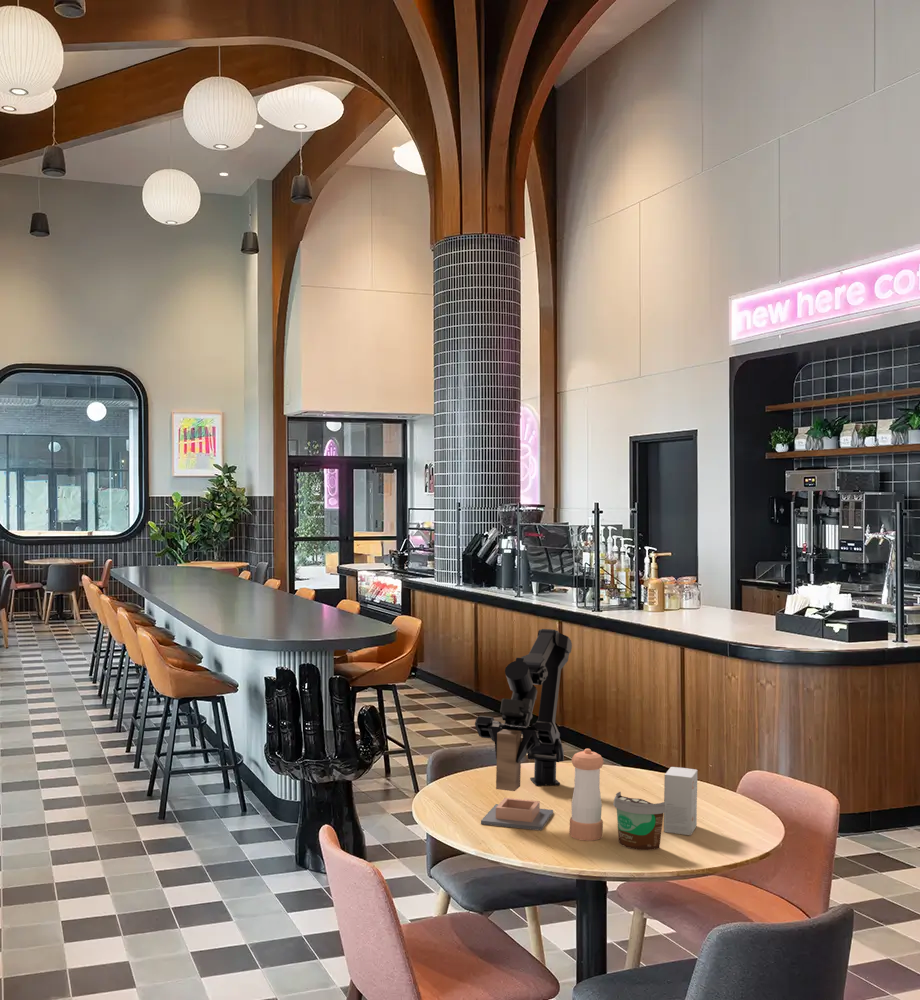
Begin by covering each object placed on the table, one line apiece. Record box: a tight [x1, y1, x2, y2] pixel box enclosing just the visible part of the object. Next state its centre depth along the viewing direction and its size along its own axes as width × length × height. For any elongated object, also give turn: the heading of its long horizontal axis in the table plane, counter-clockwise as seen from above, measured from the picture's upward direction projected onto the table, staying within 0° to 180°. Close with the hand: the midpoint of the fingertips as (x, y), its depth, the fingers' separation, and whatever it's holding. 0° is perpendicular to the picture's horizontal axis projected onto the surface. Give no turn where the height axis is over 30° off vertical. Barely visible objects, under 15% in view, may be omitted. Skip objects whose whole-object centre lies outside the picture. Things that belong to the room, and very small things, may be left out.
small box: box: [663, 766, 698, 836], centre depth 239 cm, size 8×6×13 cm
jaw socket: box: [480, 797, 554, 832], centre depth 244 cm, size 14×14×3 cm
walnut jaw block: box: [495, 729, 522, 792], centre depth 244 cm, size 4×4×13 cm
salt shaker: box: [568, 748, 604, 842], centre depth 232 cm, size 7×7×19 cm
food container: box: [613, 791, 666, 851], centre depth 226 cm, size 12×6×10 cm, turn 47°
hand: (507, 760), depth 243 cm, fingers closed on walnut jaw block, 4 cm apart
